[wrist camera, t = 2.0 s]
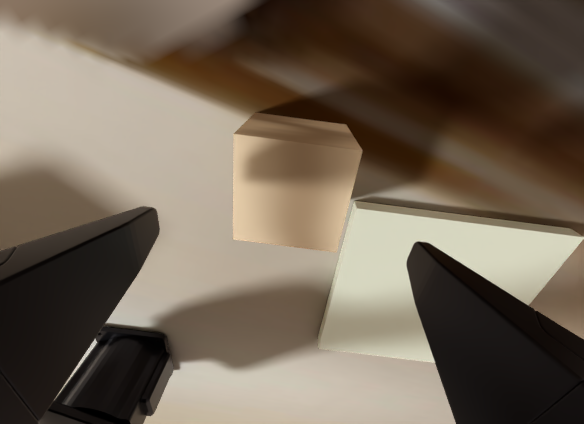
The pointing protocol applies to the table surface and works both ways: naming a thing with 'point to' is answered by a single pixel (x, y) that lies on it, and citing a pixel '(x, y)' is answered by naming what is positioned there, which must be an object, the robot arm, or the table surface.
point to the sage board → (395, 280)
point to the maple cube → (292, 181)
